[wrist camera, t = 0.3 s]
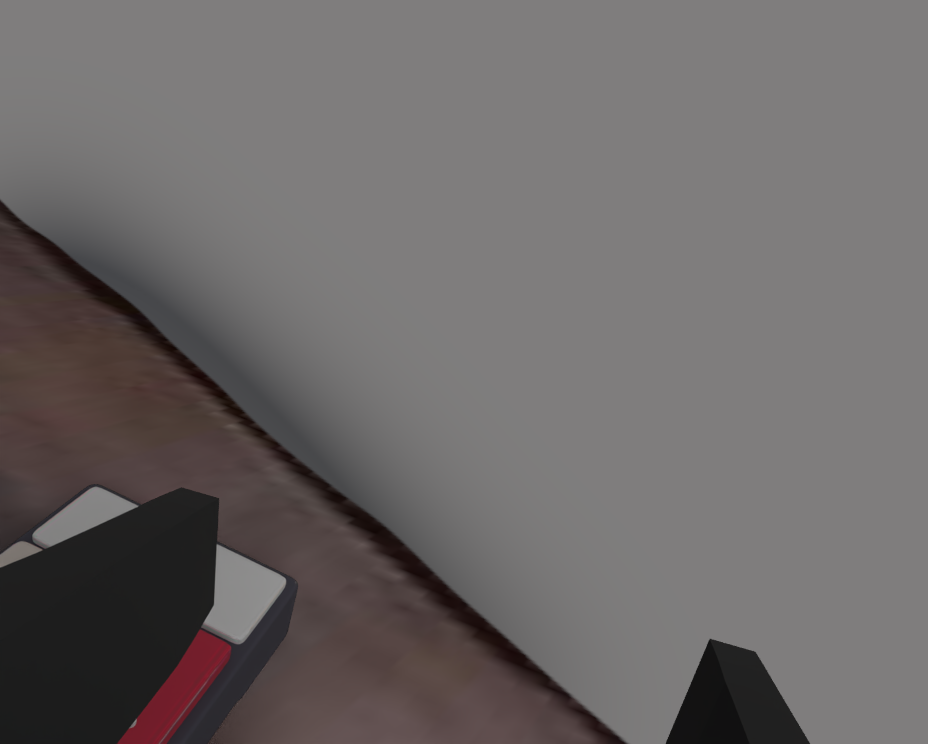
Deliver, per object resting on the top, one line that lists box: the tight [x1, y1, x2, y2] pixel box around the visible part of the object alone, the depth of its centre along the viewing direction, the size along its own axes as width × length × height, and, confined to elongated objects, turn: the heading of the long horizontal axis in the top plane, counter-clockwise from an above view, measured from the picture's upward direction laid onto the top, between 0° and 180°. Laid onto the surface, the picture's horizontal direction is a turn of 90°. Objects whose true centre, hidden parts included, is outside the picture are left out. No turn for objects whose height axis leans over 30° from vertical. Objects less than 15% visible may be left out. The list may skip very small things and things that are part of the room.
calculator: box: [0, 484, 298, 744], centre depth 28 cm, size 11×4×15 cm
